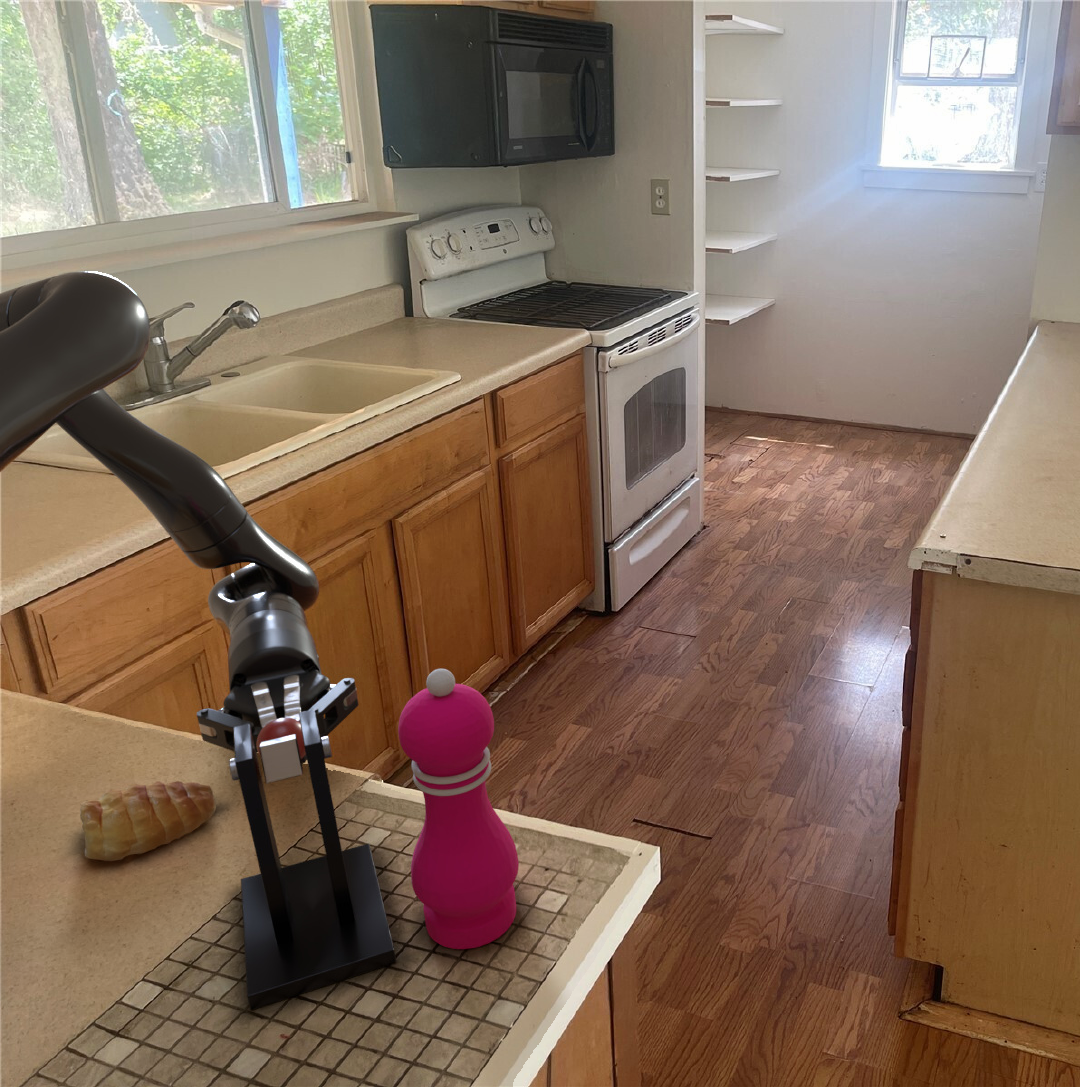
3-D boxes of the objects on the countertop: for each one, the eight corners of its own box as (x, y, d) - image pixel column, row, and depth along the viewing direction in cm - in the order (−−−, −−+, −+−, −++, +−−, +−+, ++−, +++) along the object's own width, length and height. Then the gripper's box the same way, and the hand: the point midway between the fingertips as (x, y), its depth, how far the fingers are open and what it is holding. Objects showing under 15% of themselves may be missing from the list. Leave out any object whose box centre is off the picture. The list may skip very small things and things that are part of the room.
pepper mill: (405, 956, 69) (363, 700, 61) (434, 882, 75) (399, 643, 68) (512, 956, 69) (483, 700, 61) (532, 882, 75) (507, 643, 68)
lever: (262, 769, 76) (253, 722, 76) (313, 757, 78) (304, 710, 78) (255, 796, 64) (245, 739, 64) (316, 780, 65) (305, 726, 65)
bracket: (243, 891, 75) (198, 706, 68) (371, 855, 78) (339, 676, 72) (250, 1010, 65) (198, 806, 58) (396, 963, 68) (362, 765, 62)
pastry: (209, 788, 86) (200, 750, 85) (224, 831, 81) (215, 791, 80) (82, 829, 81) (69, 790, 80) (89, 877, 76) (76, 836, 75)
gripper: (184, 643, 89) (181, 743, 74) (343, 612, 94) (370, 701, 80) (202, 716, 92) (203, 827, 77) (355, 683, 97) (383, 781, 82)
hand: (288, 763), depth 78 cm, fingers closed
